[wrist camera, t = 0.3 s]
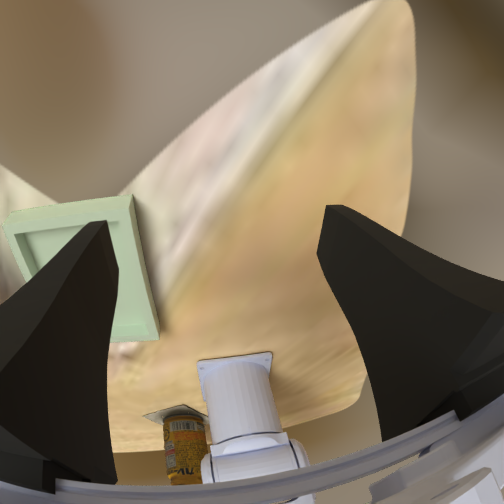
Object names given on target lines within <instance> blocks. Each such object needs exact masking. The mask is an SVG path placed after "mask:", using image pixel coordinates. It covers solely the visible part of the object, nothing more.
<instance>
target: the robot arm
mask: <svg viewBox="0 0 504 504" xmlns="http://www.w3.org/2000/svg"><path fill="white" fill-rule="evenodd" d="M317 256H318V259H319V262H320V265H321V268H322V270H323V273H324V276H325V278H326V280H327V282H328V284H329V286H330V288H331V290H332V292H333V293H334V295H335V297H336V299H337V301H338V303H339V305H340V307H341V309H342V311H343V312H344V314H345V316H346V318H347V320H348V322H349V324H350V326H351V328H352V330H353V333H354V335H355V337H356V340H357V343H358V345H359V348H360V351H361V354H362V357H363V360H364V363H365V366H366V369H367V373H368V376H369V379H370V383H371V387H372V391H373V395H374V399H375V403H376V407H377V413H378V418H379V424H380V429H381V437H382V443H379V444H377V445H374V446H371V447H369V448H366V449H363V450H360V451H357V452H354V453H351V454H348V455H345V456H342V457H338V458H335V459H332V460H328V461H325V462H321V463H318V464H314V465H310V463H309V459H308V456H307V454H306V451H305V449H304V447H303V445H302V444H301V443H300V442H299V441H297V440H296V439H294V438H292V439H288V436H287V433H286V432H284V433H283V430H282V426H281V423H280V419H279V416H278V412H277V408H276V405H275V401H274V398H273V394H272V390H271V387H270V383H269V374H270V368H271V362H272V353H270V352H266V353H259V354H252V355H245V356H237V357H229V358H221V359H212V360H202V361H198V362H197V369H198V375H199V380H200V385H201V390H202V395H203V400H204V401H205V402H206V404H207V411H208V418H209V424H210V431H211V437H212V443H213V445H211V446H210V448H211V453H210V454H206V455H205V456H204V458H203V459H202V461H201V475H202V481H203V484H193V485H174V486H128V485H115V484H116V482H117V481H118V479H117V474H116V470H115V464H114V458H113V452H112V446H111V438H110V429H109V419H108V402H107V361H108V351H109V344H110V338H111V332H112V326H113V320H114V314H115V308H116V303H117V297H118V284H119V267H118V263H117V259H116V256H115V252H114V248H113V244H112V240H111V235H110V231H109V227H108V222H107V220H102V221H92V222H89V223H88V224H86V225H85V226H84V227H83V228H82V229H81V230H80V231H79V232H78V233H77V234H76V235H74V236H73V237H72V238H71V240H70V241H69V242H68V243H67V244H66V245H65V246H64V247H63V248H62V249H61V250H60V251H59V252H58V253H57V254H56V255H55V256H54V257H53V258H52V259H51V260H50V261H49V262H48V263H47V264H46V265H44V266H43V267H42V268H41V269H40V270H39V271H38V272H37V273H36V274H35V275H34V276H33V277H32V278H31V279H30V280H29V281H28V282H27V283H26V284H25V285H24V286H23V287H21V288H20V289H19V290H18V291H17V292H16V293H15V294H13V295H12V296H11V297H10V298H9V299H8V300H6V301H5V302H4V303H3V304H1V305H0V504H269V503H274V502H279V501H284V500H288V499H291V500H290V501H287V502H285V503H280V504H315V499H316V495H315V493H316V492H319V491H323V490H326V489H330V488H333V487H336V486H339V485H342V484H345V483H348V482H351V481H354V480H357V479H360V478H362V477H365V476H368V475H370V474H373V473H376V472H378V471H380V470H383V469H385V468H388V467H390V466H392V465H395V464H397V463H399V462H401V461H404V460H406V459H408V458H410V457H412V456H414V455H416V454H418V453H420V452H421V453H420V455H419V457H418V459H417V460H415V461H413V462H411V463H409V464H407V465H405V466H403V467H401V468H399V469H398V470H397V471H395V472H394V473H392V474H390V475H388V476H387V477H385V478H383V479H381V480H379V481H377V482H375V483H373V484H371V485H370V486H369V490H370V492H371V495H372V501H370V502H368V503H365V504H504V498H503V495H502V493H501V489H502V487H503V486H504V281H501V280H497V279H494V278H491V277H487V276H485V275H482V274H479V273H476V272H473V271H471V270H468V269H466V268H463V267H460V266H458V265H455V264H453V263H451V262H449V261H446V260H444V259H442V258H440V257H438V256H436V255H434V254H432V253H429V252H428V251H426V250H424V249H422V248H420V247H418V246H416V245H414V244H412V243H411V242H409V241H407V240H405V239H403V238H402V237H400V236H398V235H396V234H395V233H393V232H391V231H390V230H388V229H386V228H384V227H383V226H381V225H379V224H378V223H376V222H374V221H373V220H371V219H369V218H367V217H366V216H364V215H362V214H360V213H358V212H357V211H355V210H353V209H351V208H349V207H346V206H344V205H326V209H325V214H324V219H323V224H322V229H321V234H320V239H319V244H318V249H317Z"/></svg>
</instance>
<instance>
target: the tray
mask: <svg viewBox="0 0 504 504" xmlns="http://www.w3.org/2000/svg"><path fill="white" fill-rule="evenodd" d="M102 220H107V222H108V227H109V231H110V235H111V240H112V244H113V248H114V252H115V256H116V259H117V263H118V267H119V284H118V297H117V303H116V308H115V314H114V320H113V326H112V332H111V338H110V343H113V342H133V341H149V340H160V323H159V319H158V316H157V312H156V308H155V304H154V300H153V296H152V291H151V287H150V283H149V279H148V274H147V270H146V265H145V260H144V256H143V251H142V246H141V241H140V235H139V230H138V225H137V219H136V213H135V207H134V201H133V195H123V196H114V197H106V198H98V199H91V200H83V201H76V202H69V203H62V204H55V205H49V206H43V207H37V208H31V209H25V210H19V211H14V212H11V214H10V215H9V216H8V218H7V219H6V220H5V222H4V223H3V224H2V228H3V230H4V233H5V235H6V238H7V240H8V243H9V245H10V248H11V250H12V252H13V255H14V257H15V259H16V262H17V264H18V266H19V268H20V270H21V273H22V275H23V277H24V279H25V281H26V283H27V282H28V281H29V280H30V279H31V278H32V277H33V276H34V275H35V274H36V273H37V272H38V271H39V270H40V269H41V268H42V267H43V266H44V265H46V264H47V263H48V262H49V261H50V260H51V259H52V258H53V257H54V256H55V255H56V254H57V253H58V252H59V251H60V250H61V249H62V248H63V247H64V246H65V245H66V244H67V243H68V242H69V241H70V240H71V238H72V237H73V236H74V235H76V234H77V233H78V232H79V231H80V230H81V229H82V228H83V227H84V226H85V225H86V224H88V223H89V222H92V221H102Z"/></svg>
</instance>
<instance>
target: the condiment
mask: <svg viewBox="0 0 504 504" xmlns="http://www.w3.org/2000/svg"><path fill="white" fill-rule="evenodd" d="M188 412H189V413H188ZM162 416H163V417H164V418H162ZM143 417H145V418H147V419H149V420H151V421H153V422H155V423H158V424H161V425H163V431H164V449H165V457H166V466H167V475H168V477H169V478H170V479H171V486H174V485H193V484H203V481H202V475H201V461H202V459H203V458H204V456H205V455H206V454H208V450H207V443H206V436H205V429H204V425H206V424H209V418H208V417H207V416H205V415H203V414H201V413H197V412H196V411H194V410H193V409H190V408H187V407H186V406H184V405H182V406H176V407H173V408H169V409H165V410H162V411H157V412H155V413H151V414H148V415H145V416H143Z"/></svg>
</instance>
